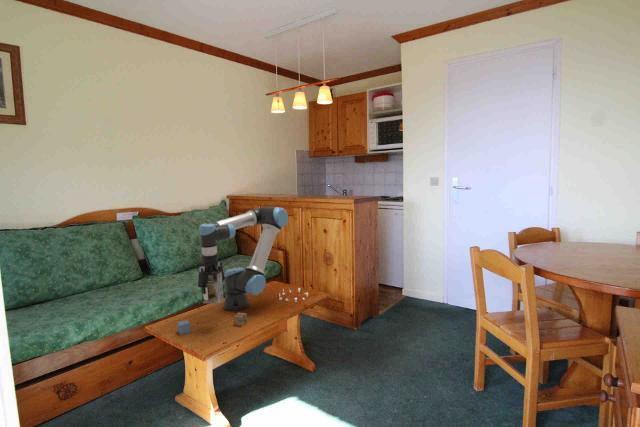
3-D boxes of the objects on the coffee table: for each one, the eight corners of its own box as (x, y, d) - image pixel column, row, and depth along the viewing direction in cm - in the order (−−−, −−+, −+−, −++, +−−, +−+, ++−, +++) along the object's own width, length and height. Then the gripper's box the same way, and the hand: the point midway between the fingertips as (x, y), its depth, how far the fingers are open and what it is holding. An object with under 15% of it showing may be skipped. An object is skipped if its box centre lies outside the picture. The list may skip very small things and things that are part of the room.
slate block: (187, 329, 194) (186, 319, 193) (190, 332, 190) (189, 322, 189) (177, 331, 191) (177, 322, 190) (180, 335, 187) (179, 325, 186)
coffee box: (202, 303, 191) (199, 273, 189) (207, 299, 197) (205, 269, 195) (218, 304, 190) (216, 273, 187) (224, 299, 196) (221, 269, 194)
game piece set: (292, 290, 251) (292, 284, 251) (314, 296, 239) (314, 290, 238) (271, 298, 236) (271, 292, 236) (294, 305, 224) (294, 299, 223)
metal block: (239, 321, 201) (238, 312, 201) (247, 322, 200) (246, 313, 199) (234, 325, 197) (233, 316, 196) (242, 326, 195) (241, 317, 194)
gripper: (220, 249, 201) (223, 289, 204) (187, 258, 184) (191, 302, 187) (230, 250, 197) (233, 291, 200) (197, 259, 179) (201, 304, 182)
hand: (212, 296), depth 193 cm, fingers closed on coffee box, 8 cm apart
